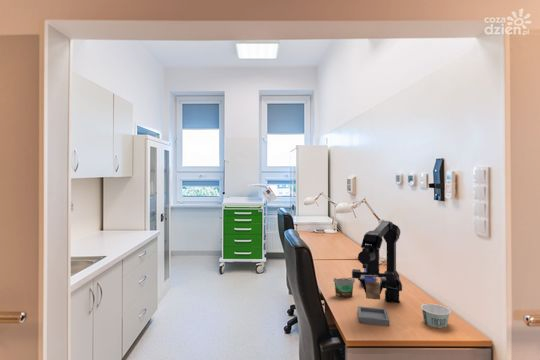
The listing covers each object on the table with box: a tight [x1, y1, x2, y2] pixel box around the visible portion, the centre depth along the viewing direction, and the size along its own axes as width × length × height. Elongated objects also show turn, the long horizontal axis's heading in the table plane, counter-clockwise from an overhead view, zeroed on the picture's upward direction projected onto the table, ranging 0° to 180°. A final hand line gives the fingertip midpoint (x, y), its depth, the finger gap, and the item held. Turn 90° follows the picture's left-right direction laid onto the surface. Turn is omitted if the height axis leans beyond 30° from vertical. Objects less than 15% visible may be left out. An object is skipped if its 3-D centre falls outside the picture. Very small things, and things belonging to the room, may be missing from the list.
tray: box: [357, 305, 390, 326], centre depth 151 cm, size 13×13×2 cm
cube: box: [365, 281, 381, 300], centre depth 151 cm, size 6×6×6 cm
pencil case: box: [359, 268, 377, 287], centre depth 202 cm, size 22×9×10 cm, turn 156°
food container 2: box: [420, 303, 452, 329], centre depth 145 cm, size 12×12×6 cm
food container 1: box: [333, 277, 356, 299], centre depth 178 cm, size 12×6×10 cm, turn 105°
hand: (372, 293), depth 151 cm, fingers closed on cube, 6 cm apart
